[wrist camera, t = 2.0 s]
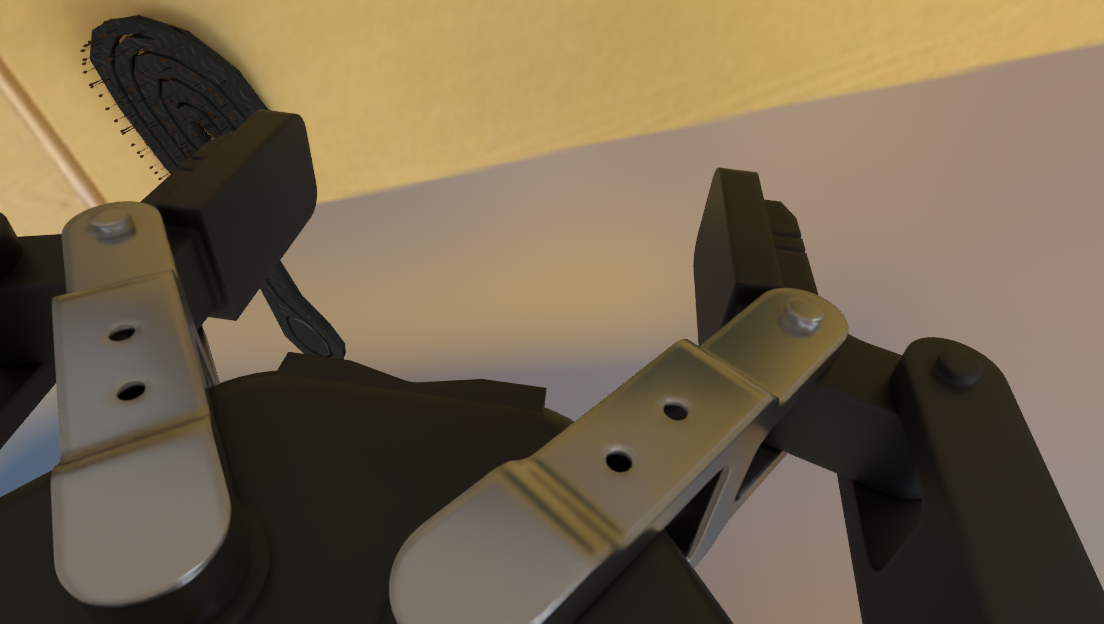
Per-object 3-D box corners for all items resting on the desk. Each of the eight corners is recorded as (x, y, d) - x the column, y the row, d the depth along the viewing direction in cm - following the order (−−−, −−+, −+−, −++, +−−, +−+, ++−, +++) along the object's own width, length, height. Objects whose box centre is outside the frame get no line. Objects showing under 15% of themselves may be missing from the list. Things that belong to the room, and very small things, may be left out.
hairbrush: (274, 390, 48) (30, 44, 33) (295, 355, 51) (80, 22, 36) (376, 380, 46) (165, 7, 31) (392, 345, 49) (206, -13, 34)
